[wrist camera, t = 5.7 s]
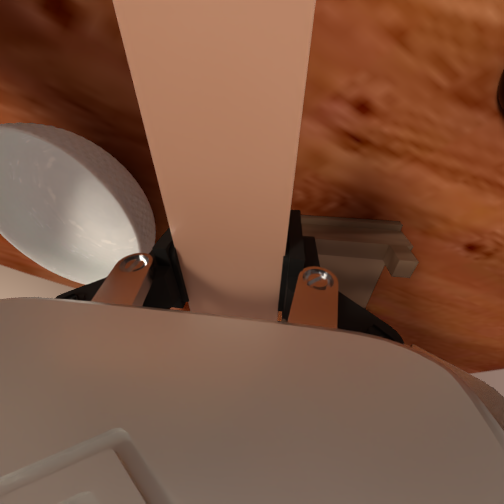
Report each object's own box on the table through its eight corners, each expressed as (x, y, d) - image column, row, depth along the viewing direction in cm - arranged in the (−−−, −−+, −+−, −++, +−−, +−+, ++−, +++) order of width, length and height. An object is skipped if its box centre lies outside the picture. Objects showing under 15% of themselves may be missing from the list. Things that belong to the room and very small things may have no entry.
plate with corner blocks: (292, 214, 24) (292, 245, 19) (399, 221, 23) (429, 256, 18) (282, 305, 33) (280, 342, 28) (358, 314, 32) (371, 355, 27)
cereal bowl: (2, 145, 25) (-84, 161, 19) (114, 89, 20) (42, 87, 14) (102, 262, 34) (63, 296, 28) (196, 243, 29) (172, 280, 23)
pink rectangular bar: (177, -33, 7) (77, -142, 3) (311, -39, 6) (336, -170, 3) (222, 325, 17) (207, 378, 14) (272, 331, 17) (268, 386, 14)
